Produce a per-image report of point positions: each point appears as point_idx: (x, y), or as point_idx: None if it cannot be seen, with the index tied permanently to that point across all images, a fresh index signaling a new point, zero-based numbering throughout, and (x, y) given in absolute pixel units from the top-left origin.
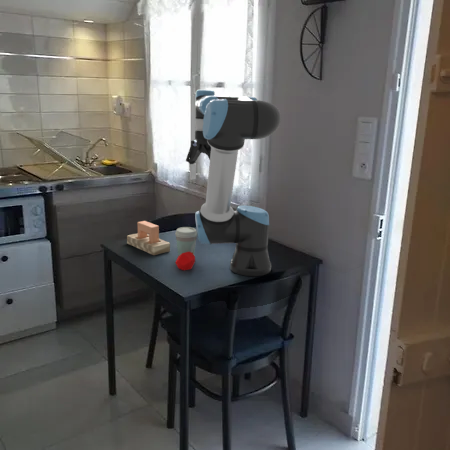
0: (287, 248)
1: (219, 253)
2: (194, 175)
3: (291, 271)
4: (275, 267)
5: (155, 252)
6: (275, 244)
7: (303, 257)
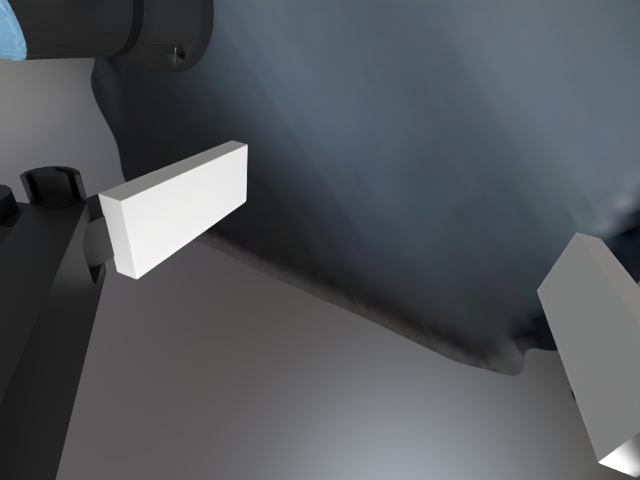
0: (215, 227)
1: (311, 58)
2: (560, 302)
3: (103, 75)
4: (138, 72)
5: None
6: (251, 240)
7: None
